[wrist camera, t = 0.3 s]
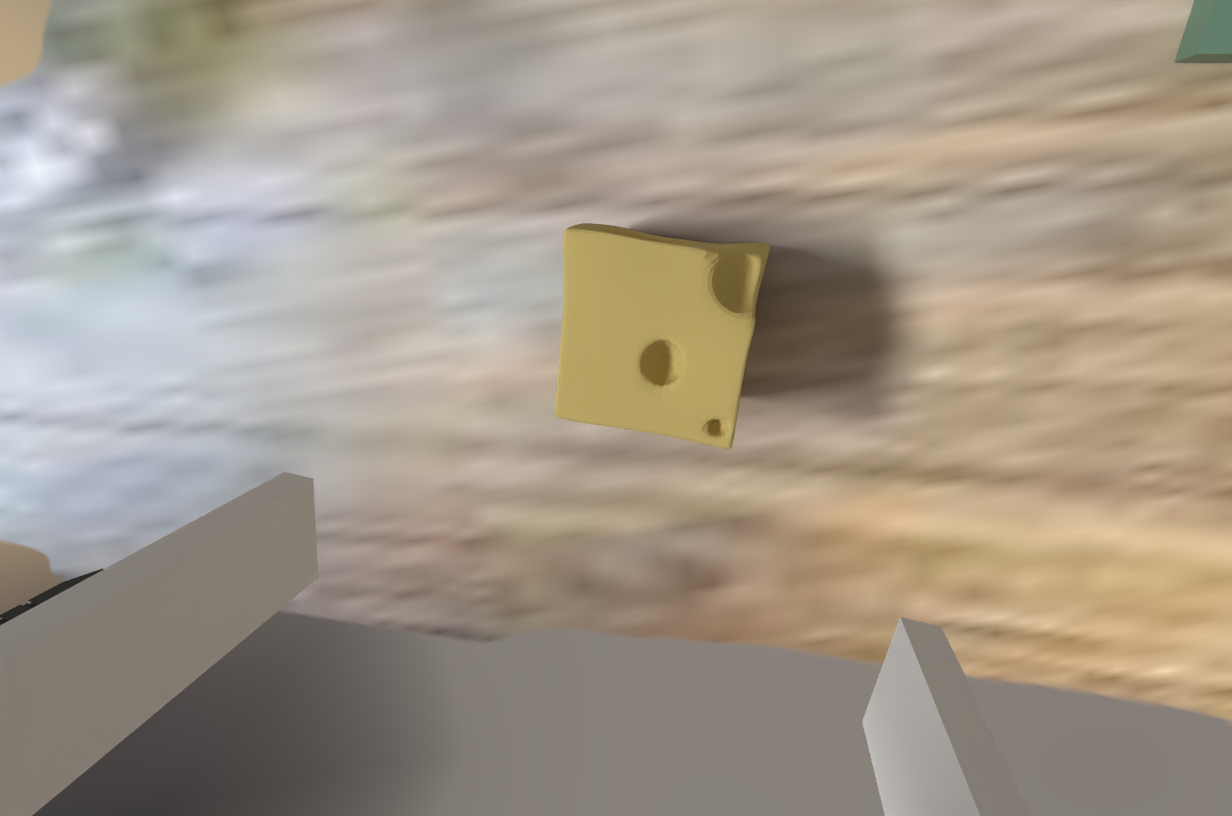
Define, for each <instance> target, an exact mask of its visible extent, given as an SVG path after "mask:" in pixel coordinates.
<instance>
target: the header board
mask: <svg viewBox="0 0 1232 816" xmlns="http://www.w3.org/2000/svg"><path fill="white" fill-rule="evenodd" d="M1175 62H1202V63H1232V0H1195V1H1194V4H1193V8H1192V11H1191V14H1190V17H1189V20H1188V23H1187V26H1186V29H1185V32H1184V36H1183V39H1182V42H1181V45H1180V48H1179V51H1178V54H1177V57H1176V60H1175Z"/></svg>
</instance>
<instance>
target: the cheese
mask: <svg viewBox="0 0 1232 816" xmlns="http://www.w3.org/2000/svg"><path fill="white" fill-rule="evenodd" d="M769 251H770V246H769V245H768V244H764V243H729V244H719V243H708V242H700V241H692V240H684V239H676V238H668V237H662V236H657V235H651V234H647V233H643V232H639V231H635V230H631V229H627V228H622V227H617V226H610V225H602V224H591V223H586V224H578V225H574V226H572V227H569V228H567V229H566V230H565V231H564V243H563V264H564V309H563V323H562V334H561V346H560V358H559V371H558V381H557V392H556V402H555V416H556V417H559V418H563V419H567V420H572V421H577V422H582V423H588V424H594V425H602V426H609V427H617V428H624V429H631V430H638V431H645V432H651V433H657V434H662V435H667V436H672V437H676V438H681V439H685V440H689V441H694V442H698V443H702V444H706V445H710V446H715V447H720V448H725V449H730V448H731V447H732V444H733V439H734V433H735V427H736V421H737V414H738V408H739V401H740V395H741V389H742V383H743V378H744V372H745V367H746V362H747V357H748V353H749V349H750V344H751V341H752V337H753V333H754V327H755V321H756V319H755V308H756V302H757V297H758V293H759V288H760V284H761V280H762V277H763V273H764V269H765V266H766V262H767V258H768V255H769Z"/></svg>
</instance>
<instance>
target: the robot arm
mask: <svg viewBox="0 0 1232 816" xmlns="http://www.w3.org/2000/svg"><path fill="white" fill-rule="evenodd" d="M317 578H318V565H317V545H316V525H315V505H314V485H313V479H312V478H308V477H303V476H299V475H295V474H291V473H286V472H284V473H282V474H280V475H278V476H276V477H274V478H272V479H271V480H269V481H267V482H265V483H263V484H261V485H259V486H258V487H256V488H254V489H252V490H250V491H248V492H246V493H245V494H243V495H241V496H239V497H237V498H235V499H234V500H232V501H230V502H228V503H226V504H224V505H222V506H221V507H219V508H217V509H215V510H213V511H211V512H209V513H208V514H206V515H204V516H202V517H200V518H198V519H196V520H195V521H193V522H191V523H189V524H187V525H185V526H184V527H182V528H180V529H178V530H176V531H174V532H172V533H171V534H169V535H167V536H165V537H163V538H161V539H159V540H158V541H156V542H154V543H152V544H150V545H148V546H147V547H145V548H143V549H141V550H139V551H137V552H135V553H134V554H132V555H130V556H128V557H126V558H124V559H122V560H121V561H119V562H117V563H115V564H113V565H111V566H109V567H108V568H106V569H100V570H97V571H94V572H91V573H88V574H86V575H83V576H80V577H77V578H74V579H71V580H68V581H65V582H62V583H61V584H58V585H57V586H55V587H53V588H51V589H49V590H47V591H45V592H43V593H41V594H39V595H38V596H36V597H34V598H32V599H30V600H28V601H27V603H26V604H25V605H24V606H22V605H19V606H17V607H15V608H13V609H11V610H9V611H7V612H5V613H3V614H2V615H0V816H32V815H33V814H34V813H35V812H37V811H38V810H39V809H40V808H41V807H43V806H44V805H45V804H46V803H47V802H49V801H50V800H51V799H52V798H53V797H55V796H56V795H57V794H58V793H59V792H61V791H62V790H63V789H64V788H65V787H67V786H68V785H69V784H70V783H71V782H73V781H74V780H75V779H76V778H77V777H78V776H80V775H81V774H82V773H84V772H85V771H86V770H87V769H88V768H89V767H91V766H92V765H93V764H94V763H96V762H97V761H98V760H99V759H100V758H101V757H103V756H104V755H105V754H106V753H107V752H109V751H110V750H111V749H112V748H114V747H115V746H116V745H117V744H118V743H120V742H121V741H122V740H123V739H124V738H125V737H127V736H128V735H129V734H130V733H132V732H133V731H134V730H135V729H136V728H138V727H139V726H140V725H141V724H142V723H144V722H145V721H146V720H147V719H148V718H149V717H151V716H152V715H153V714H154V713H156V712H157V711H158V710H159V709H160V708H162V707H163V706H164V705H165V704H166V703H168V702H169V701H170V700H171V699H172V698H174V697H175V696H176V695H177V694H179V693H180V692H181V691H182V690H183V689H185V688H186V687H187V686H188V685H189V684H190V683H192V682H193V681H194V680H195V679H197V678H198V677H199V676H200V675H201V674H203V673H204V672H205V671H206V670H207V669H209V668H210V667H211V666H212V665H213V664H215V663H216V662H217V661H218V660H219V659H221V658H222V657H223V656H224V655H225V654H227V653H228V652H229V651H230V650H231V649H233V648H234V647H235V646H236V645H237V644H239V643H240V642H241V641H242V640H243V639H245V638H246V637H247V636H248V635H249V634H251V633H252V632H253V631H254V630H255V629H257V628H258V627H259V626H260V625H262V624H263V623H264V622H265V621H266V620H268V619H269V618H270V617H271V616H272V615H274V614H275V613H276V612H277V611H278V610H280V609H281V608H282V607H283V606H284V605H286V604H287V603H288V602H289V601H290V600H292V599H293V598H294V597H295V596H296V595H298V594H299V593H300V592H301V591H302V590H304V589H305V588H306V587H307V586H308V585H310V584H311V583H312V582H313V581H314V580H316V579H317ZM862 722H863V727H864V731H865V735H866V739H867V743H868V747H869V751H870V756H871V760H872V764H873V768H874V772H875V776H876V780H877V784H878V789H879V793H880V797H881V801H882V805H883V809H884V813H885V816H1034V814H1033V812H1032V810H1031V808H1030V806H1029V803H1028V801H1027V799H1026V798H1025V795H1024V794H1023V791H1022V790H1021V787H1020V785H1019V783H1018V781H1017V779H1016V777H1015V775H1014V773H1013V771H1012V769H1011V767H1010V765H1009V763H1008V761H1007V759H1006V757H1005V755H1004V753H1003V751H1002V749H1001V747H1000V745H999V743H998V741H997V739H996V737H995V735H994V733H993V731H992V729H991V727H990V725H989V723H988V721H987V719H986V717H985V715H984V712H983V710H982V709H981V706H980V704H979V702H978V700H977V698H976V696H975V694H974V692H973V690H972V688H971V686H970V684H969V682H968V680H967V678H966V676H965V674H964V672H963V670H962V668H961V666H960V664H959V662H958V660H957V658H956V656H955V654H954V652H953V650H952V648H951V646H950V644H949V642H948V640H947V638H946V636H945V634H944V632H943V630H942V628H941V627H940V626H936V625H932V624H928V623H923V622H919V621H915V620H911V619H906V618H902V617H900V619H899V622H898V625H897V627H896V630H895V633H894V636H893V639H892V641H891V644H890V647H889V650H888V652H887V655H886V658H885V661H884V663H883V666H882V669H881V672H880V675H879V677H878V680H877V683H876V685H875V688H874V691H873V694H872V696H871V699H870V702H869V705H868V707H867V710H866V713H865V716H864V719H863V721H862Z"/></svg>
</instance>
